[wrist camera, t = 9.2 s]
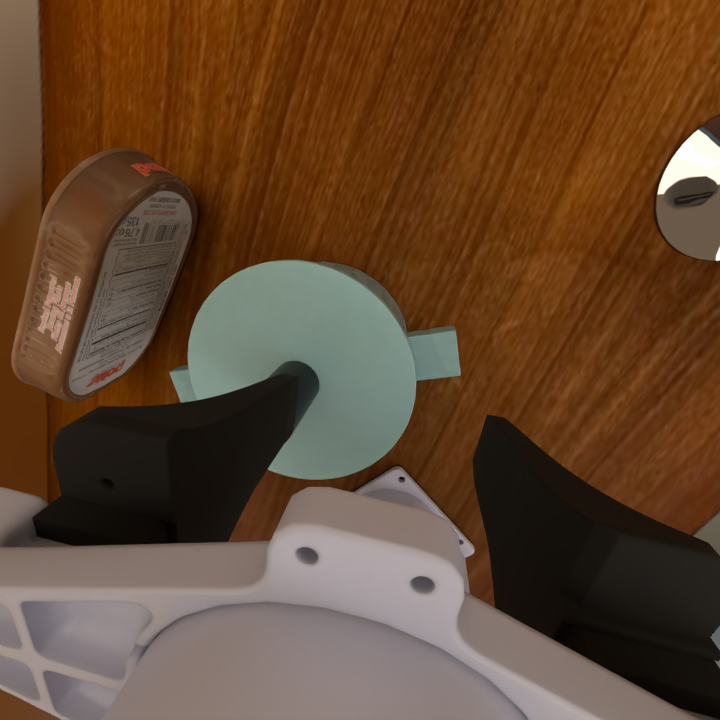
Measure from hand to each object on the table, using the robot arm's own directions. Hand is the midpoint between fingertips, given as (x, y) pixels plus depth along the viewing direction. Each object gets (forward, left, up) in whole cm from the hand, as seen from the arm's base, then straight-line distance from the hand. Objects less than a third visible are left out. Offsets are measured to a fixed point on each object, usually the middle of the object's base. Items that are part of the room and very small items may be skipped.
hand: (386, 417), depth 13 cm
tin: (+13, +10, -11) cm, 20 cm away
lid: (+3, +4, -5) cm, 7 cm away
